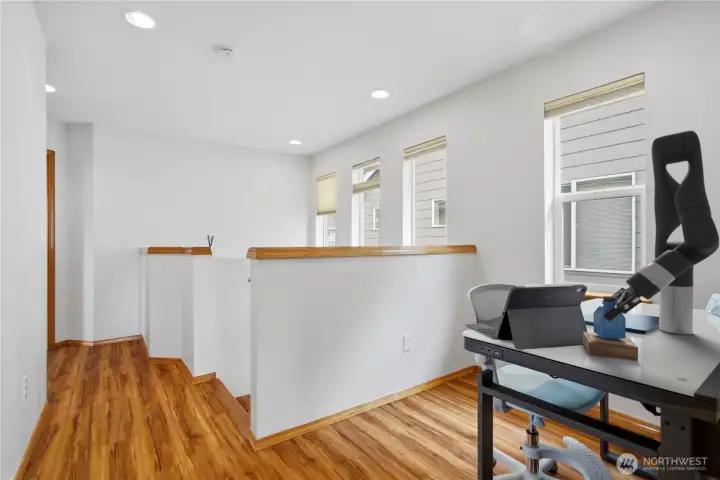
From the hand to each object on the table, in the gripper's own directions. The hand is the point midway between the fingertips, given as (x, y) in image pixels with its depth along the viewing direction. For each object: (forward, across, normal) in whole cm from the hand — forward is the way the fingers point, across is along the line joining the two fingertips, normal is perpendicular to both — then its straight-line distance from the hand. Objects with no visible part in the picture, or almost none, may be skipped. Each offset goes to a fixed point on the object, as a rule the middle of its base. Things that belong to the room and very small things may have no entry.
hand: (603, 315), depth 109 cm
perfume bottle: (+3, 0, +6) cm, 6 cm away
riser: (+7, 0, +9) cm, 11 cm away
